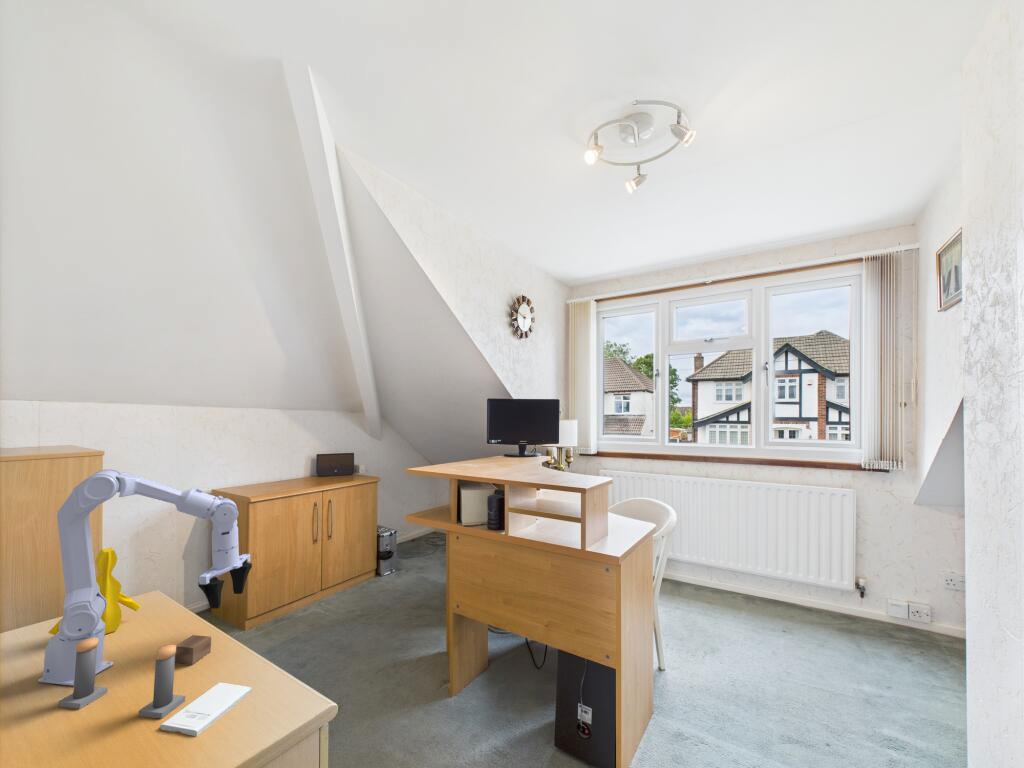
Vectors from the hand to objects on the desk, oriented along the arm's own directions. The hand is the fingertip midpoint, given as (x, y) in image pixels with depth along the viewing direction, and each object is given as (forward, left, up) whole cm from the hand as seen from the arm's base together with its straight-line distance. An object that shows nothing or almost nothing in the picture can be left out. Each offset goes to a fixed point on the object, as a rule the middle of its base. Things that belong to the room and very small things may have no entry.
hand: (227, 600), depth 111 cm
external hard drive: (+17, -24, -10) cm, 31 cm away
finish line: (-1, -25, -9) cm, 27 cm away
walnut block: (-1, -9, -10) cm, 13 cm away
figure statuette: (-34, -3, -10) cm, 35 cm away
